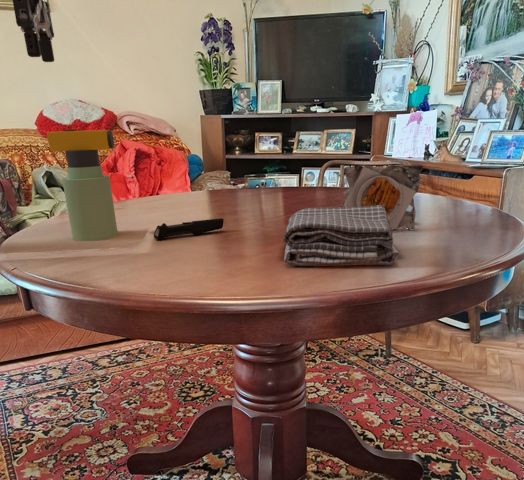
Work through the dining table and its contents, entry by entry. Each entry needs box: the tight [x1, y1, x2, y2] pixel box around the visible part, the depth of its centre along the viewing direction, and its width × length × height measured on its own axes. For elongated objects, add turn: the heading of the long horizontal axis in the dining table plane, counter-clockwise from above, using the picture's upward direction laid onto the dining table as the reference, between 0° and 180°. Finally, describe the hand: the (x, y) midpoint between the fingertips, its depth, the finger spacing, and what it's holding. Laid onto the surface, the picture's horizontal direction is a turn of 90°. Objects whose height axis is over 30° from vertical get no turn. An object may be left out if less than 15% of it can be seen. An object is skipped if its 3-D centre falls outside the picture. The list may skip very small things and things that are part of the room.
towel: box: [282, 205, 399, 267], centre depth 87 cm, size 15×18×8 cm
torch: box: [46, 129, 115, 153], centre depth 98 cm, size 12×3×4 cm, turn 95°
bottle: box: [61, 150, 119, 242], centre depth 102 cm, size 9×9×18 cm
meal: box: [341, 164, 424, 230], centre depth 105 cm, size 15×4×13 cm, turn 90°
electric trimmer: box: [153, 217, 225, 241], centre depth 109 cm, size 4×16×3 cm, turn 117°
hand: (42, 59), depth 97 cm, fingers open, 8 cm apart
